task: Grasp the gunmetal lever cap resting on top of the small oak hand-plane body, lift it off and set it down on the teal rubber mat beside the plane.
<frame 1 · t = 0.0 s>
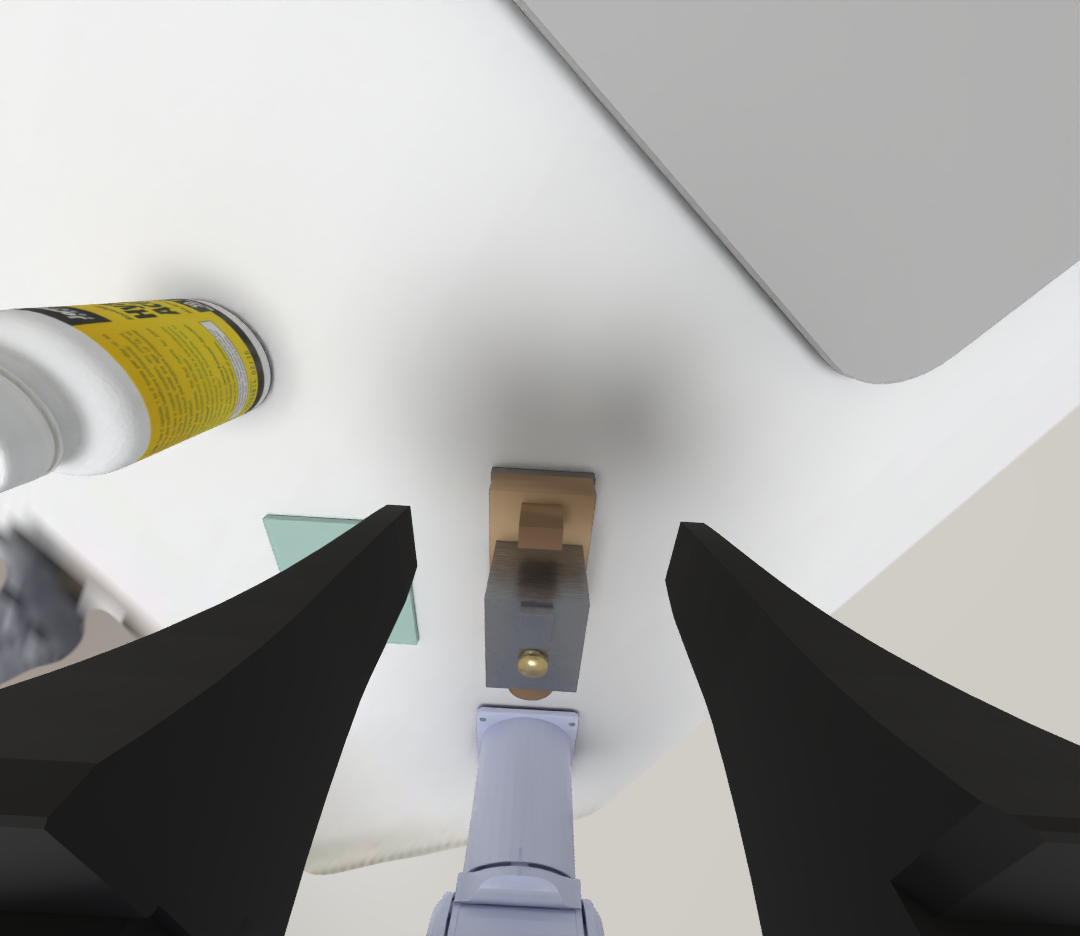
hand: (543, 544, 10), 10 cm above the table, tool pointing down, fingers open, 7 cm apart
plane body: (537, 570, 24), on the table
supplement bottle: (219, 357, 19), on the table
lever cap: (536, 586, 21), point 2 cm above the table, touching plane body
mat: (349, 583, 25), on the table
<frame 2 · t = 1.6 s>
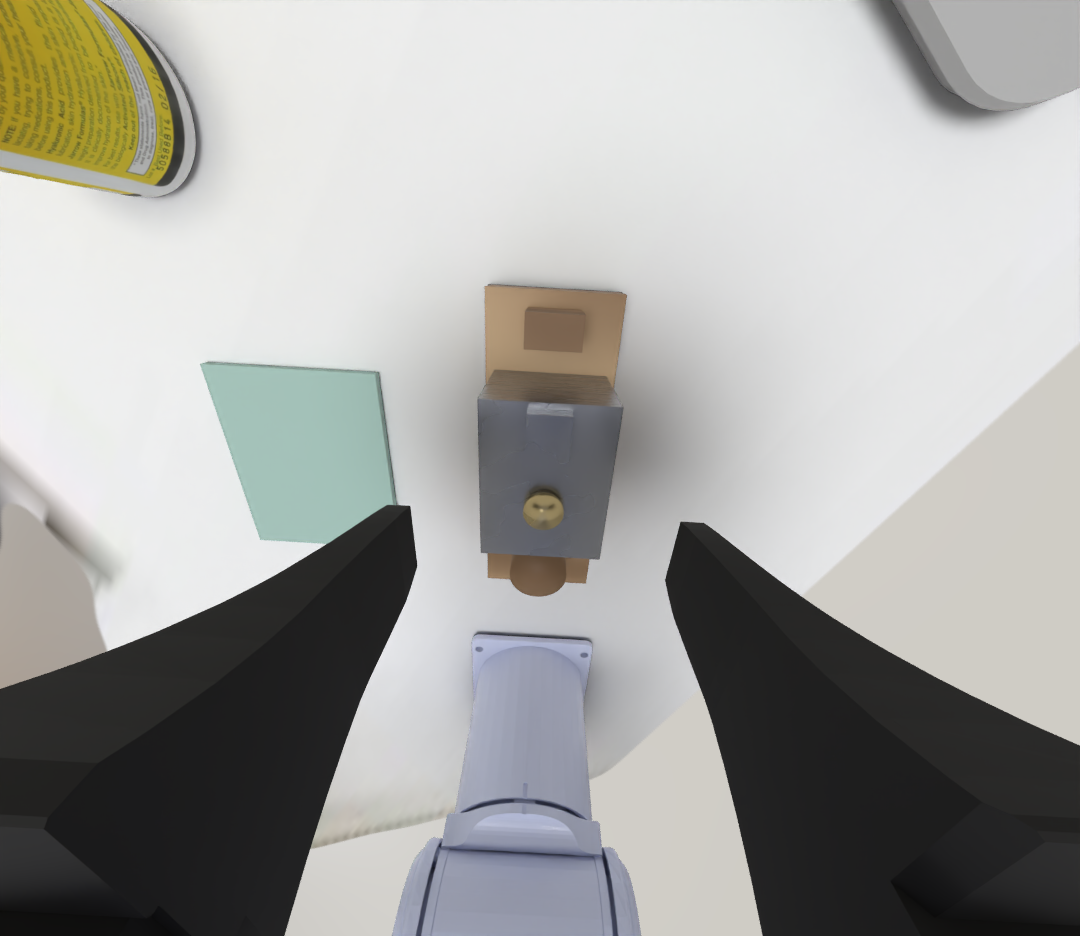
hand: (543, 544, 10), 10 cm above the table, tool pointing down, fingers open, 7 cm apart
plane body: (545, 441, 19), on the table
supplement bottle: (128, 111, 14), on the table
lever cap: (546, 441, 17), point 2 cm above the table, touching plane body
mat: (315, 463, 20), on the table
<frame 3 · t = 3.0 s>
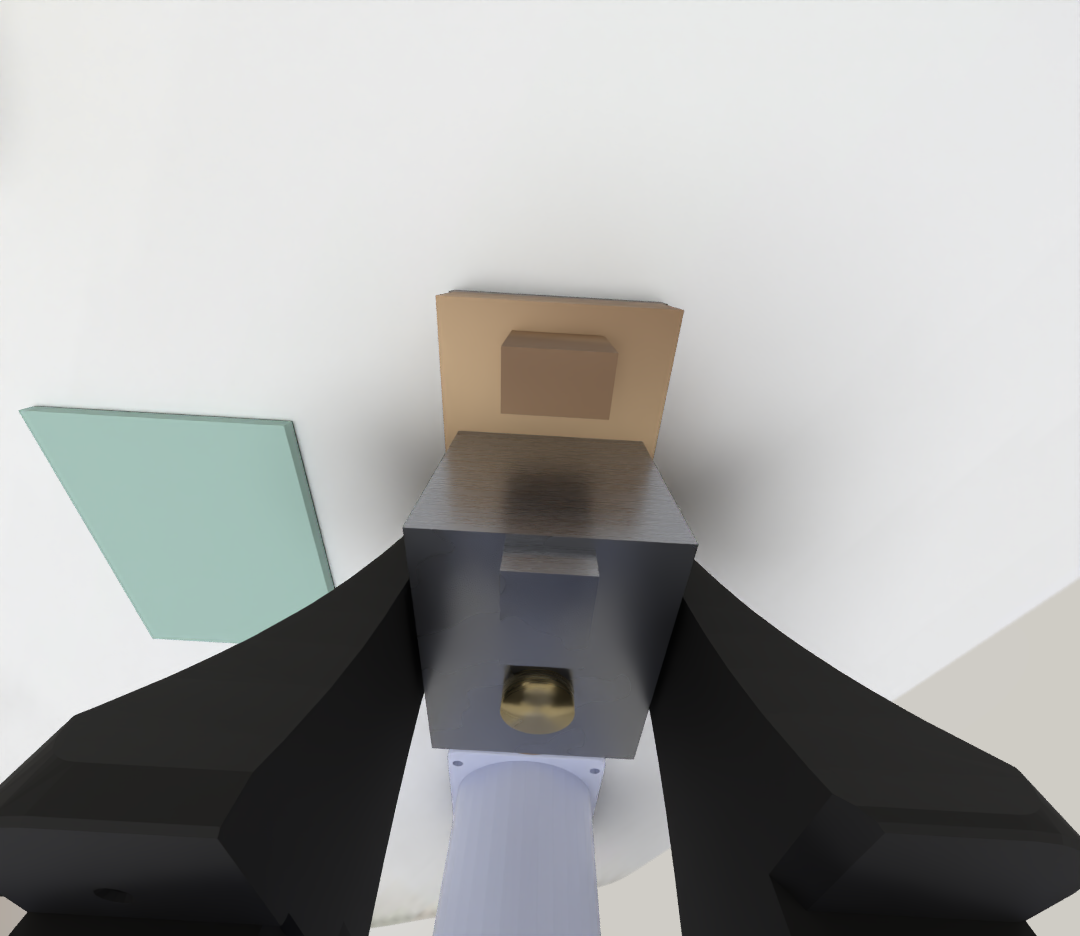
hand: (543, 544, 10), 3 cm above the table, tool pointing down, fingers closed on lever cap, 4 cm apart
plane body: (542, 516, 13), on the table
lever cap: (543, 535, 11), point 2 cm above the table, touching gripper, plane body
mat: (216, 542, 14), on the table
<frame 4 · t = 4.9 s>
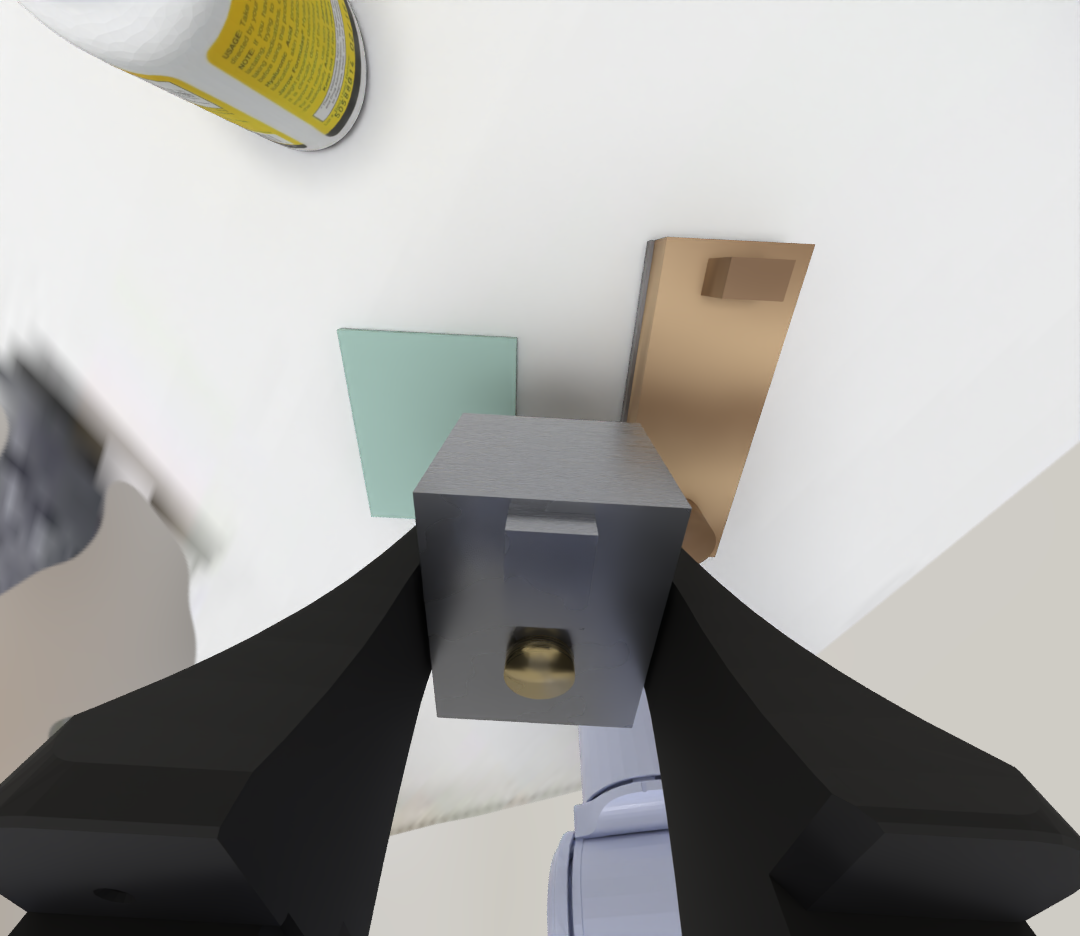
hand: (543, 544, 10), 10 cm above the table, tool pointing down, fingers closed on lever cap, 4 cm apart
plane body: (679, 409, 19), on the table
supplement bottle: (295, 59, 14), on the table
lever cap: (544, 516, 11), point 9 cm above the table, touching gripper
mat: (437, 435, 20), on the table
when the fingers open (2 cm above the table, at t = 7.3 s): lever cap stays where it is, resting on mat.
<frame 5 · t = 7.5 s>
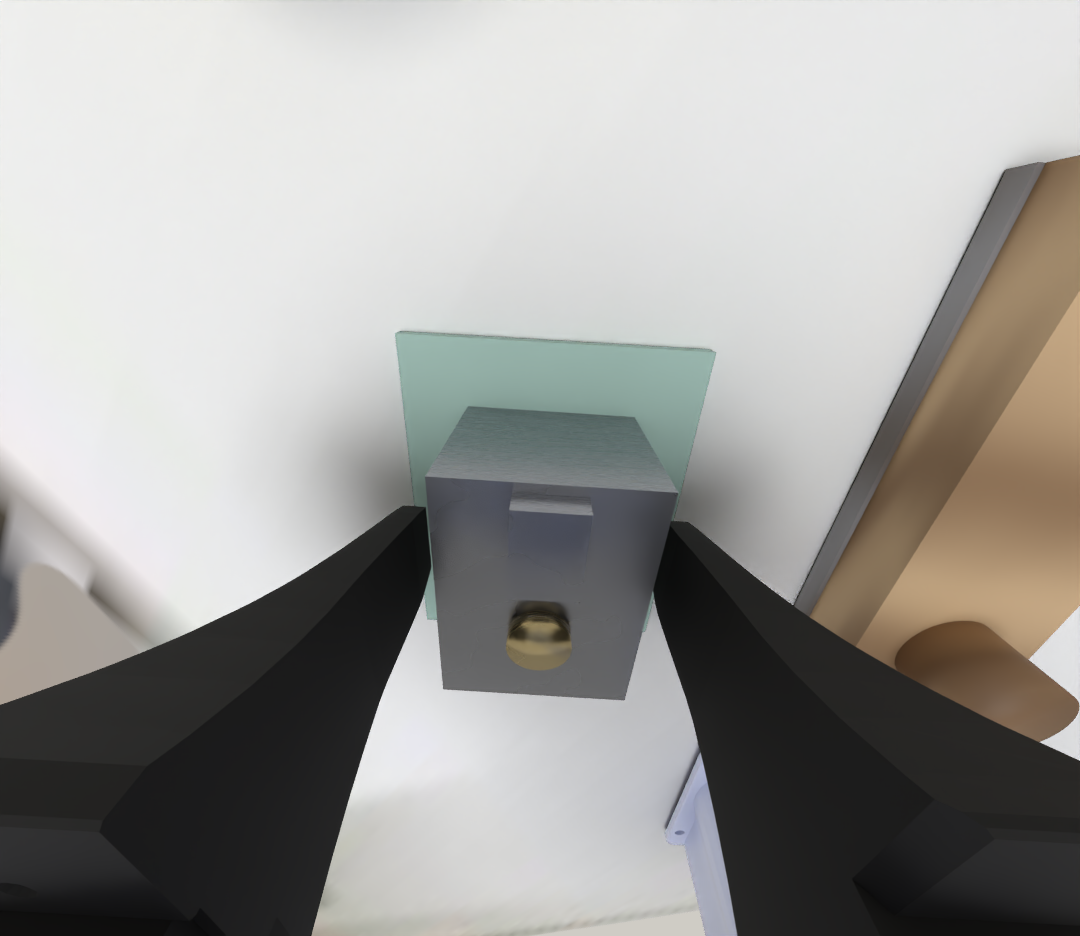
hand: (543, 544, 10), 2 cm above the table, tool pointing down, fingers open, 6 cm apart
plane body: (955, 470, 11), on the table
lever cap: (544, 505, 12), resting on mat
mat: (544, 504, 12), on the table
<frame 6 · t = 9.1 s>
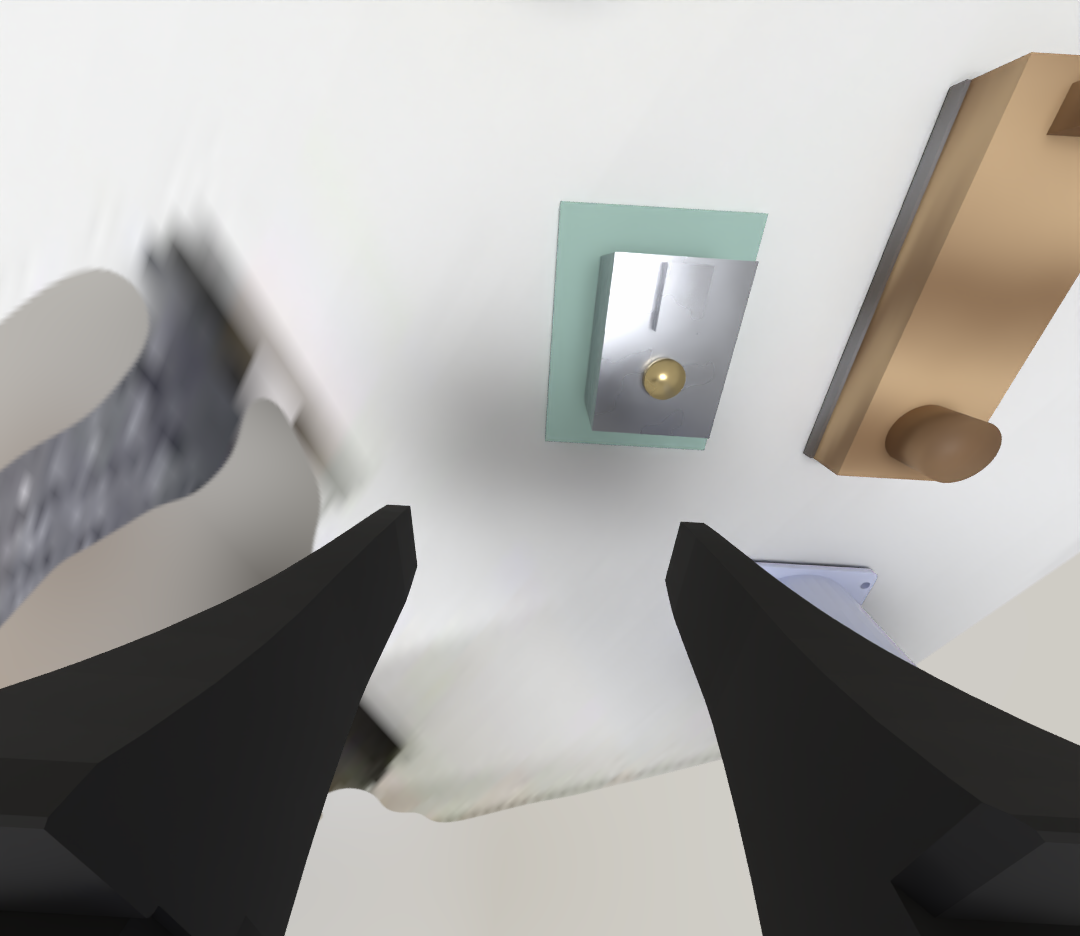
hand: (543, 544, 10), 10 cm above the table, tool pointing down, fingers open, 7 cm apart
plane body: (926, 309, 17), on the table
lever cap: (642, 337, 17), resting on mat
mat: (640, 340, 17), on the table
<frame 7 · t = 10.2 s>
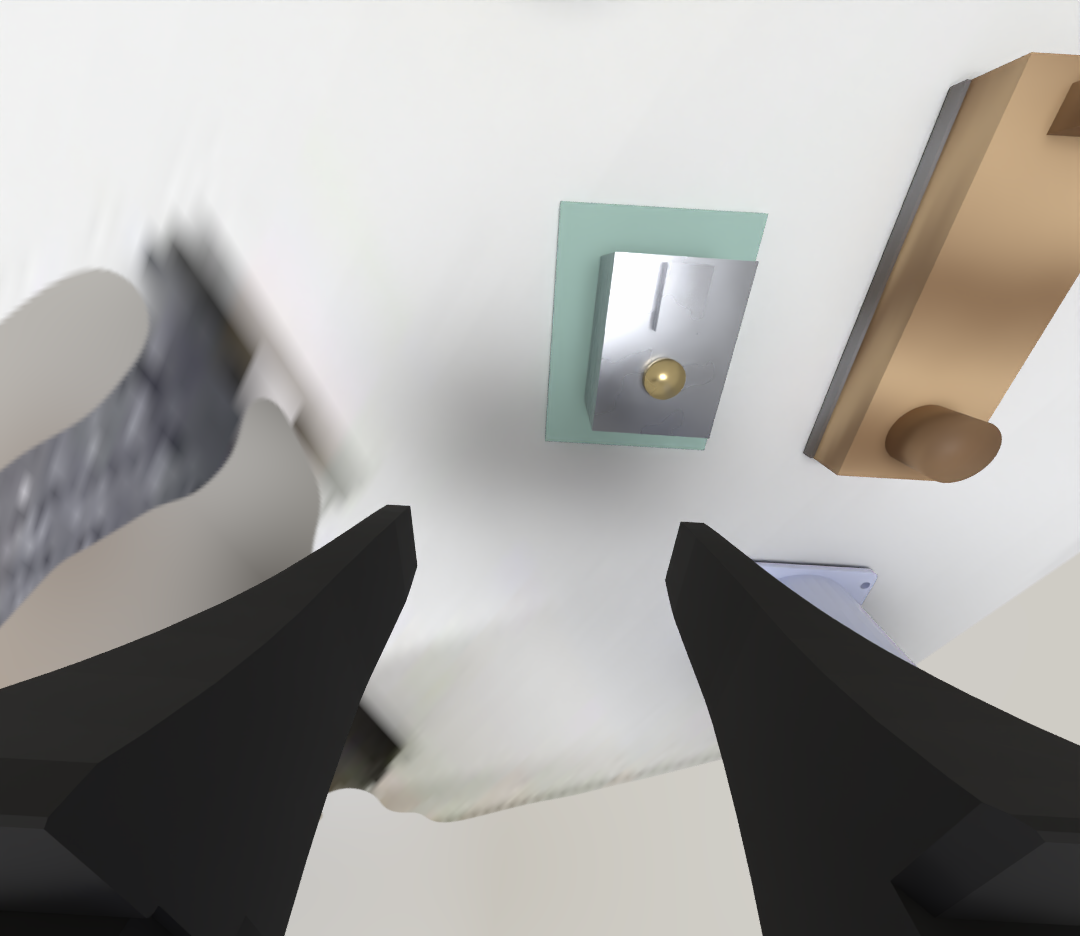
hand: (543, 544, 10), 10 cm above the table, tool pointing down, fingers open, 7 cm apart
plane body: (926, 309, 17), on the table
lever cap: (642, 337, 17), resting on mat
mat: (640, 340, 17), on the table
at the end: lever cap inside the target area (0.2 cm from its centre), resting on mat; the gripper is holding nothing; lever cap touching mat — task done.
